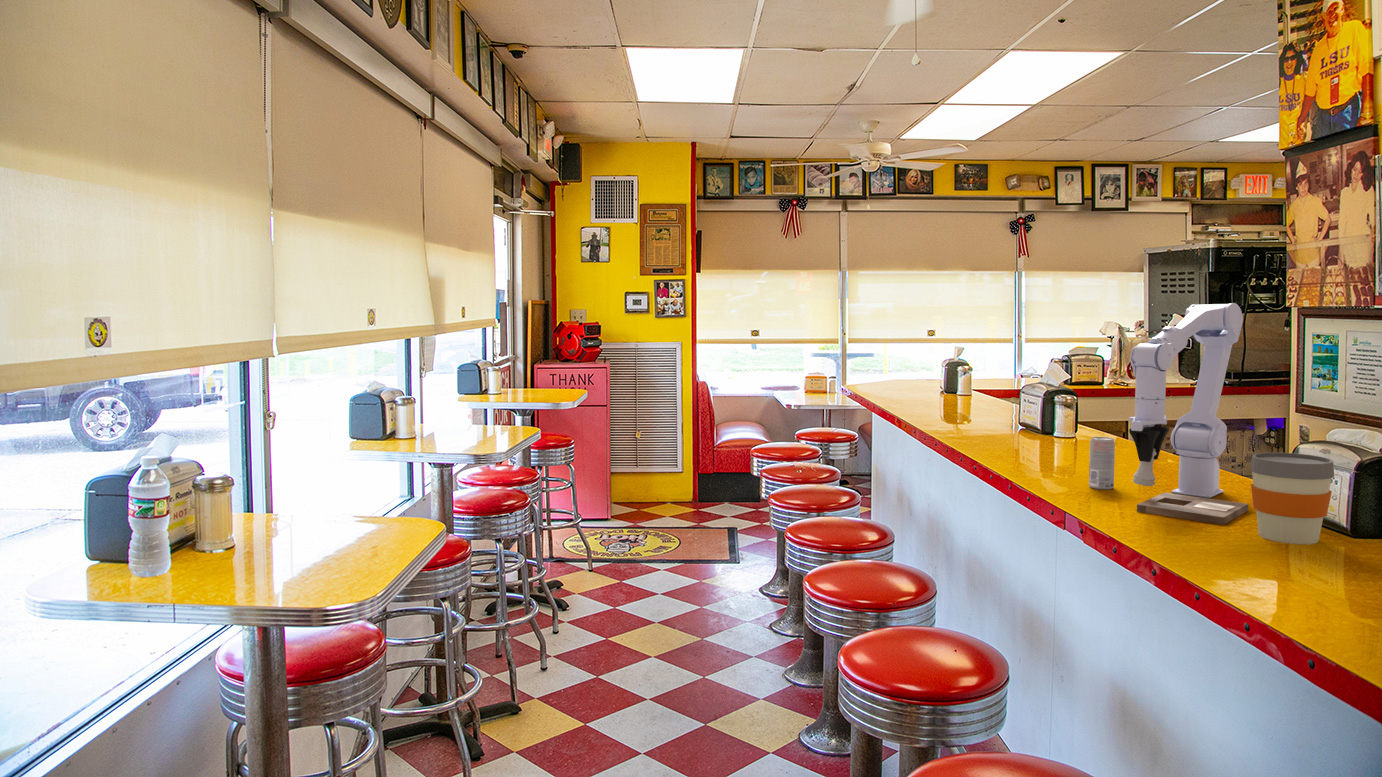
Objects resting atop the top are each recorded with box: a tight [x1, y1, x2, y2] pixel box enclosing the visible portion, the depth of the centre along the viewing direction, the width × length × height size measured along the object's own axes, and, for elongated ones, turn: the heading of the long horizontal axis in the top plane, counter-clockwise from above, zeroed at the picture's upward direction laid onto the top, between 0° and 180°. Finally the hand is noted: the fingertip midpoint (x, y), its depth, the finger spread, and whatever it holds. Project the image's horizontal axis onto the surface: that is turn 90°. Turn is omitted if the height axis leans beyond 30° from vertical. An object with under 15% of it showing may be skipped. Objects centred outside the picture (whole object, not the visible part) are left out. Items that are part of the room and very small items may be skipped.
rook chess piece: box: [1132, 448, 1157, 487], centre depth 177 cm, size 4×4×8 cm
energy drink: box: [1088, 436, 1116, 491], centre depth 195 cm, size 5×5×12 cm
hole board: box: [1136, 492, 1249, 526], centre depth 171 cm, size 16×16×2 cm
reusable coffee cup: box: [1249, 452, 1335, 545], centre depth 150 cm, size 13×13×15 cm
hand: (1148, 460), depth 177 cm, fingers closed on rook chess piece, 3 cm apart
